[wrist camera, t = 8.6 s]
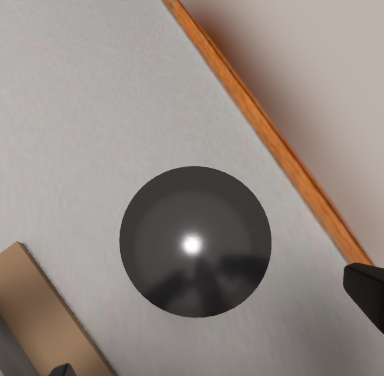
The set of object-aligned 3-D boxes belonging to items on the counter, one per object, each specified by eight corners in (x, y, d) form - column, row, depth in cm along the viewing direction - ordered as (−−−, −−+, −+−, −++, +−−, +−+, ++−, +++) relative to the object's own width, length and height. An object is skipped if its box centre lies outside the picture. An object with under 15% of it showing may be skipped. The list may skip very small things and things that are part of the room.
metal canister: (231, 275, 20) (302, 240, 9) (182, 325, 19) (191, 357, 8) (187, 226, 21) (200, 141, 10) (137, 270, 20) (88, 228, 9)
